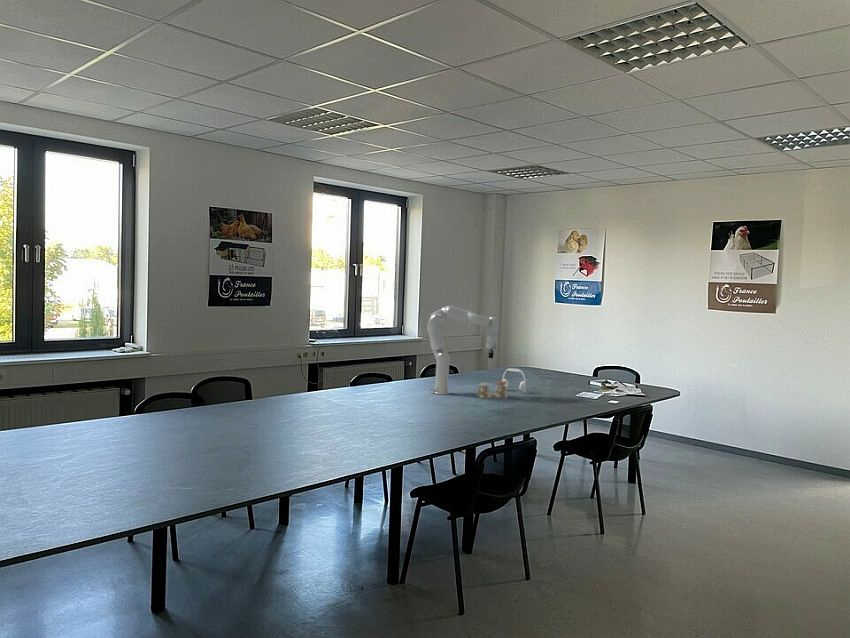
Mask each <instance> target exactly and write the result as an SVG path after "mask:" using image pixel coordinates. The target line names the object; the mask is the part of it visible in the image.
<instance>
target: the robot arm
mask: <svg viewBox="0 0 850 638" xmlns="http://www.w3.org/2000/svg"><path fill="white" fill-rule="evenodd" d="M448 318H450V319H454V320H458V321H461V322H464V323H469V324H473V325H477V326H480V327H484V328H485V327H487V338H486V343H485V344H486V345H485V348H486V349H487V350H488V359H494V353H495V351H496V349H497V345H498V343H497V342H498V336H499V323H500V319H499V317H497V316H485V315H481V314H478V313H475V312H472V311H470V310H466V309H463V308H460V307H456V306H454V305H445V306H444V307H442V308H439V310H436V311H434V312H432V313H431V314H430V316H429V320H428V322H427V325H426V329H427V333H428V337H429V339H430V341H429V342H430V343H429V344H430V348H431V350H432V353H433V356H434V357H435V360H436V365H435V386H434V387H429V388H428V391H431V392H432V394H435V395H445V396H446V395H450V394H451V391H449V378H450V377H449V375H450V373H449V372H450V371H449V370H450V362H451V361H450V360H451V358H450V357H451V356H450V354H449V353H448V351H447V349H446V347H445V341H444V339H443V337H442V334H441V331H440V324H441V323H442V322H443V321H445V320H447V319H448Z"/></svg>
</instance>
